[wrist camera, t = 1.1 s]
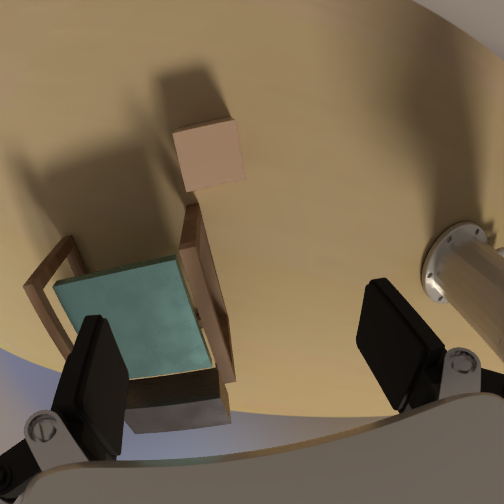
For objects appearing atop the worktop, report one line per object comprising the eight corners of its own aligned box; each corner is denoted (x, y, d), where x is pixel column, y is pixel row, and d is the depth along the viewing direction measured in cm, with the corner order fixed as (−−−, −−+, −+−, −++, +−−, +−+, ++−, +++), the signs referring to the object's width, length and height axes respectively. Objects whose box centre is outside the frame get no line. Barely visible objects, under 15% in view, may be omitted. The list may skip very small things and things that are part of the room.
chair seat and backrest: (177, 244, 27) (173, 270, 23) (228, 394, 36) (231, 423, 32) (62, 271, 27) (45, 297, 23) (138, 406, 36) (135, 433, 32)
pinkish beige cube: (231, 116, 28) (235, 119, 24) (240, 167, 31) (246, 179, 26) (178, 128, 28) (172, 133, 24) (189, 178, 30) (186, 192, 26)
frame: (198, 202, 32) (195, 246, 23) (228, 318, 38) (236, 381, 29) (62, 237, 31) (22, 286, 22) (110, 339, 38) (93, 399, 29)
